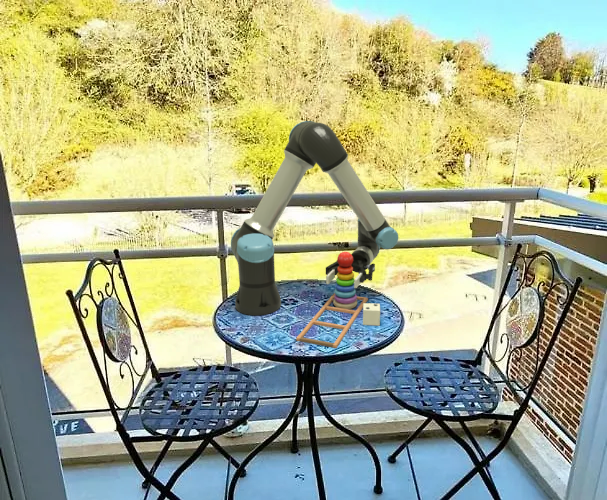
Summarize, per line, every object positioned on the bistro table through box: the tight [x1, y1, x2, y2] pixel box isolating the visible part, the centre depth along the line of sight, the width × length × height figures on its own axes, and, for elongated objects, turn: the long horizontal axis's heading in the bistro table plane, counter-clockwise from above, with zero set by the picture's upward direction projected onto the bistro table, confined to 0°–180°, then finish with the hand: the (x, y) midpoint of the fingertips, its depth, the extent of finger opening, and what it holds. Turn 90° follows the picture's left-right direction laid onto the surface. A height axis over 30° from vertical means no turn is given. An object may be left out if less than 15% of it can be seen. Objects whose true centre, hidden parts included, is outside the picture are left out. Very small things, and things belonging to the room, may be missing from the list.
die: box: [362, 302, 381, 326], centre depth 141 cm, size 5×5×5 cm
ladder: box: [295, 292, 369, 349], centre depth 143 cm, size 12×34×1 cm, turn 158°
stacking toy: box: [332, 251, 358, 310], centre depth 150 cm, size 8×8×19 cm
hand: (341, 282), depth 146 cm, fingers open, 9 cm apart
